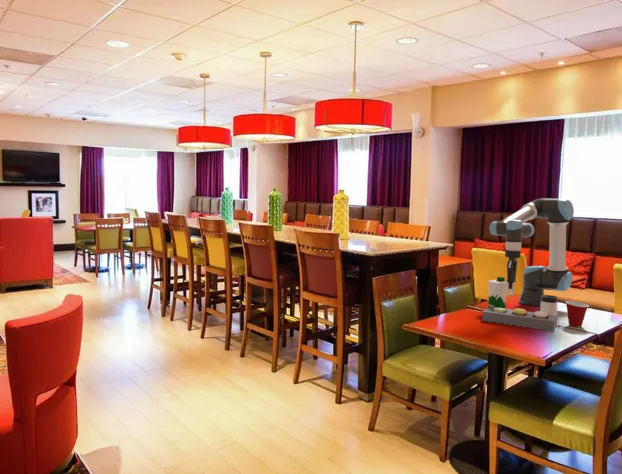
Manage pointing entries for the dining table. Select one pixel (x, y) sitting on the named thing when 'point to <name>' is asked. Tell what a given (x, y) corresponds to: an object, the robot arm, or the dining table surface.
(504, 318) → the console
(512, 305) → the dining table surface
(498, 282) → the milk carton
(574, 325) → the plastic cup
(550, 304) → the jar
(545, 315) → the cream button
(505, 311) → the sage button
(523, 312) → the mustard button
